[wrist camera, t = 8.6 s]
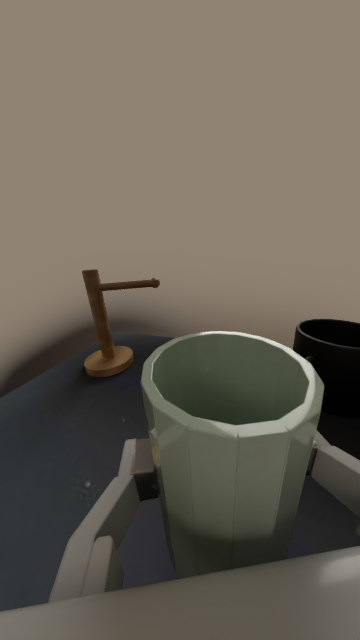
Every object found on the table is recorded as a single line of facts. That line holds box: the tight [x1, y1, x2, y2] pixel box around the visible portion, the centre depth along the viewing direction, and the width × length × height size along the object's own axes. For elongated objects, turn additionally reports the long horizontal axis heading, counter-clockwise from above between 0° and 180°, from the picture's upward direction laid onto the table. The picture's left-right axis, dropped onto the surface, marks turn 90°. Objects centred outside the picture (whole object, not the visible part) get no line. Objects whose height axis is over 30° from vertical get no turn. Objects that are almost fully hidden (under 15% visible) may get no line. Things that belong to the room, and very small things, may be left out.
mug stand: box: [82, 269, 160, 377], centre depth 34 cm, size 16×9×18 cm, turn 95°
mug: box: [293, 319, 360, 417], centre depth 24 cm, size 9×12×9 cm
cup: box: [141, 331, 325, 579], centre depth 11 cm, size 10×6×11 cm, turn 5°
